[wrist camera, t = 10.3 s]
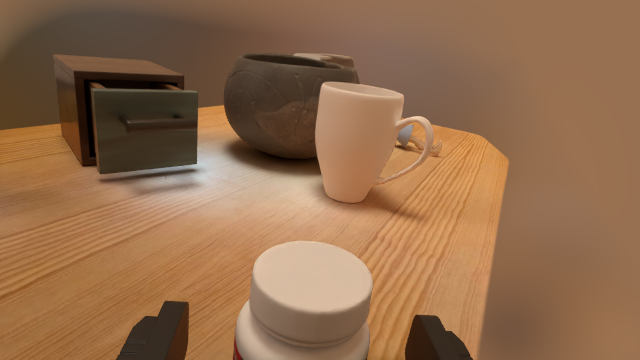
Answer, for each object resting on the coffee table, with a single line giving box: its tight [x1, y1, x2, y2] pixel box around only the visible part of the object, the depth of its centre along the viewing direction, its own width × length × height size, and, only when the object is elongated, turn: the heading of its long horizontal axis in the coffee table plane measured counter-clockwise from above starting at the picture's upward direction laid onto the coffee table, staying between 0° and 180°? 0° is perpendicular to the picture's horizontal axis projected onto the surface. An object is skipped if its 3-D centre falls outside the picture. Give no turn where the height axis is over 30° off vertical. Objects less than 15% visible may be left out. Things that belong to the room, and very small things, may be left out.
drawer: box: [83, 79, 198, 174], centre depth 40 cm, size 15×9×8 cm, turn 40°
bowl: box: [224, 53, 360, 159], centre depth 50 cm, size 18×18×13 cm
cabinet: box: [53, 55, 184, 166], centre depth 45 cm, size 13×11×10 cm
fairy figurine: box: [397, 125, 442, 156], centre depth 64 cm, size 12×5×12 cm
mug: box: [315, 82, 434, 203], centre depth 38 cm, size 12×8×11 cm
